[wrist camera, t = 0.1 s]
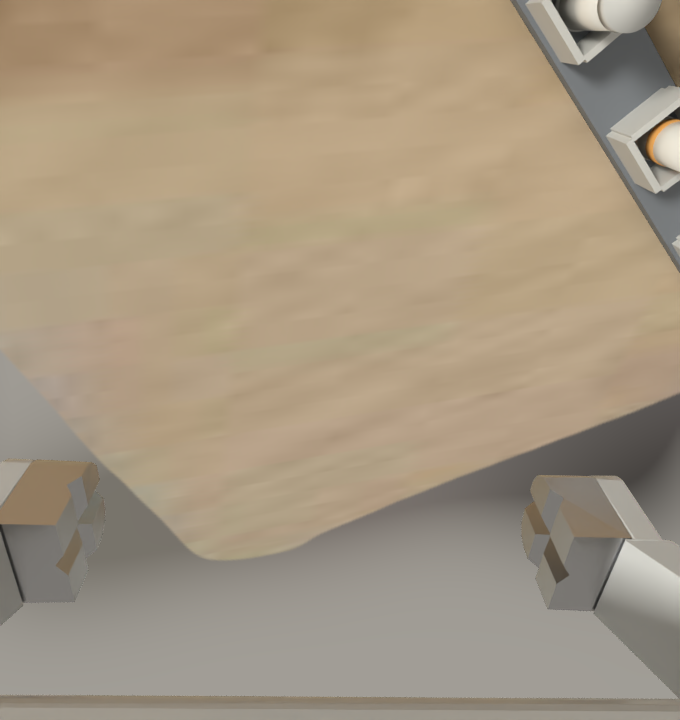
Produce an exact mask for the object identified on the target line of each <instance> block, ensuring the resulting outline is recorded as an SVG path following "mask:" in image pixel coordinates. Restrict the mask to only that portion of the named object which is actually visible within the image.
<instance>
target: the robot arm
mask: <svg viewBox="0 0 680 720" xmlns="http://www.w3.org/2000/svg"><path fill="white" fill-rule="evenodd" d="M99 480H100V478H99V474H98V469H97V465H95V464H94V463H92V462H76V461H55V460H26V459H7V460H5V461H3V462H1V463H0V626H1V625H2V624H3V623H4V622H5V621H7V620H8V619H9V618H10V617H11V616H12V615H13V614H14V613H16V612H17V611H18V610H19V609H20V608H21V607H22V606H23V603H28V602H29V603H36V602H75V600H76V597H77V595H78V593H79V591H80V588H81V586H82V584H83V581H84V579H85V577H86V574H87V572H88V567H87V562H86V558H87V557H88V556H89V555H91V554H92V553H93V552H95V551H96V550H97V548H98V546H99V543H100V541H101V538H102V535H103V529H104V524H105V505H104V499H103V497H102V496H101V495H99V494H98V493H97V492H96V491H95V489H96V487H97V485H98V482H99ZM530 492H531V494H532V497H533V499H534V502H532V503H531V504H530V505H529V506H528V507H526V508H525V510H524V514H523V518H522V522H521V537H522V542H523V546H524V550H525V553H526V555H527V558H528V559H529V560H530V561H531V562H532V563H534V564H535V565H536V566H537V567H538V568H539V569H538V572H537V575H536V578H535V579H536V581H537V584H538V586H539V589H540V591H541V594H542V596H543V599H544V601H545V604H546V606H547V609H555V610H578V611H594V614H595V615H596V616H597V617H598V618H599V619H600V620H601V621H602V622H603V623H604V624H605V625H606V626H607V627H608V628H609V629H610V630H611V631H612V632H613V633H614V634H615V635H616V636H617V637H618V638H619V639H620V640H621V641H622V642H623V643H624V644H625V645H626V646H627V647H628V648H629V649H630V650H631V651H632V652H633V653H634V654H635V655H636V656H637V657H638V658H639V659H640V660H641V661H642V662H643V663H644V664H645V665H646V666H647V667H648V668H649V669H650V670H651V671H652V672H653V673H654V674H655V675H656V676H657V677H658V678H659V679H660V680H661V681H662V682H663V683H664V684H665V685H666V686H667V687H668V688H669V689H670V690H671V691H672V692H673V693H674V694H675V695H676V696H677V697H678V698H679V699H603V698H602V699H600V698H425V697H421V698H420V697H419V698H417V697H409V698H408V697H267V696H266V697H264V696H262V697H261V696H258V697H257V696H256V697H255V696H112V695H111V696H109V695H107V696H105V695H102V696H100V695H95V696H94V695H0V720H680V546H679V545H677V544H676V543H674V542H672V541H671V540H662V539H661V537H660V536H659V534H658V533H657V531H656V529H655V528H654V527H653V525H652V524H651V522H650V521H649V519H648V518H647V516H646V515H645V513H644V512H643V510H642V509H641V507H640V506H639V504H638V503H637V501H636V500H635V498H634V497H633V496H632V494H631V492H630V491H629V489H628V488H627V486H626V485H625V483H624V482H623V481H622V479H620V478H618V477H617V476H589V477H588V476H552V475H537V477H536V478H535V479H534V481H533V483H532V487H531V490H530Z"/></svg>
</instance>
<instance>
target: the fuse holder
mask: <svg viewBox="0 0 680 720" xmlns="http://www.w3.org/2000/svg"><path fill="white" fill-rule="evenodd" d="M553 1H554V0H511V2H512V4H513V5H514V7H515V8H516V10H517V12H518V13H519V15H520V17H521V18H522V20H523V21H524V23H525V25H526V26H527V28H528V29H529V31H530V33H531V34H532V36H533V37H534V39H535V41H536V42H537V44H538V46H539V47H540V49H541V50H542V52H543V54H544V55H545V57H546V58H547V60H548V62H549V63H550V65H551V66H552V68H553V70H554V71H555V73H556V75H557V76H558V78H559V79H560V81H561V83H562V84H563V86H564V87H565V89H566V91H567V92H568V94H569V95H570V97H571V99H572V100H573V102H574V103H575V105H576V107H577V108H578V110H579V112H580V113H581V115H582V116H583V118H584V120H585V121H586V123H587V124H588V126H589V128H590V129H591V131H592V132H593V134H594V136H595V137H596V139H597V141H598V142H599V144H600V145H601V147H602V149H603V150H604V152H605V153H606V155H607V157H608V158H609V160H610V161H611V163H612V165H613V166H614V168H615V170H616V171H617V173H618V174H619V176H620V178H621V179H622V181H623V182H624V184H625V186H626V187H627V189H628V190H629V192H630V194H631V195H632V197H633V199H634V200H635V202H636V203H637V205H638V207H639V208H640V210H641V211H642V213H643V215H644V216H645V218H646V219H647V221H648V223H649V224H650V226H651V228H652V229H653V231H654V232H655V234H656V236H657V237H658V239H659V240H660V242H661V244H662V245H663V247H664V248H665V250H666V252H667V253H668V255H669V256H670V258H671V260H672V261H673V263H674V265H675V266H676V268H677V269H678V271H679V273H680V172H678V171H675V170H673V169H671V168H668V167H664V166H661V165H659V164H656V163H654V162H652V161H649V160H645V159H644V158H643V156H642V154H641V153H640V151H639V149H638V147H637V146H636V144H635V142H634V141H636V140H637V139H638V138H639V137H641V136H642V135H643V134H645V133H646V132H647V131H648V130H650V129H651V128H652V127H654V126H655V125H656V124H657V123H659V122H660V121H661V120H663V119H664V118H665V117H667V116H670V117H672V118H675V119H680V87H676V86H675V84H674V82H673V80H672V78H671V76H670V74H669V72H668V71H667V69H666V67H665V65H664V63H663V61H662V59H661V57H660V55H659V53H658V52H657V50H656V48H655V46H654V44H653V42H652V40H651V38H650V36H649V35H648V33H647V31H646V29H645V27H644V28H642V29H640V30H638V31H636V32H633V33H614V32H611V31H580V32H570V31H568V29H567V27H566V25H565V24H564V22H563V20H562V19H561V17H560V15H559V14H558V12H557V10H556V9H555V7H554V5H553Z"/></svg>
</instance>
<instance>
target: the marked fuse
mask: <svg viewBox="0 0 680 720" xmlns="http://www.w3.org/2000/svg"><path fill="white" fill-rule="evenodd" d="M634 142H635V144H636V146H637V147H638V149H639V151H640V153H641V154H642V156H643V158H644V159H645V160H649V161H652V162H654V163H656V164H659V165H661V166H664V167H668V168H671V169H673V170H675V171H678V172H680V119H675V118H672V117H670V116H667V117H665V118H664V119H663V120H661V121H660V122H659V123H657V124H656V125H655V126H654V127H652V128H651V129H650V130H648V131H647V132H646V133H645V134H643V135H642V136H641V137H639V138H638V139H637V140H636V141H634Z"/></svg>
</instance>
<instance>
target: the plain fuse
mask: <svg viewBox="0 0 680 720" xmlns="http://www.w3.org/2000/svg"><path fill="white" fill-rule="evenodd" d="M661 2H662V0H554V1H553V5H554V7H555V9H556V10H557V12H558V14H559V15H560V17H561V19H562V20H563V22H564V24H565V25H566V27H567V29H568V31H570V32H580V31H611V32H614V33H633V32H636V31H638V30H640V29H642V28H644V27H645V26H646V25H647V24H649V23H650V22H651V20H652V19H653V18H654V17H655V15H656V14H657V12H658V10H659V8H660V5H661Z"/></svg>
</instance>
